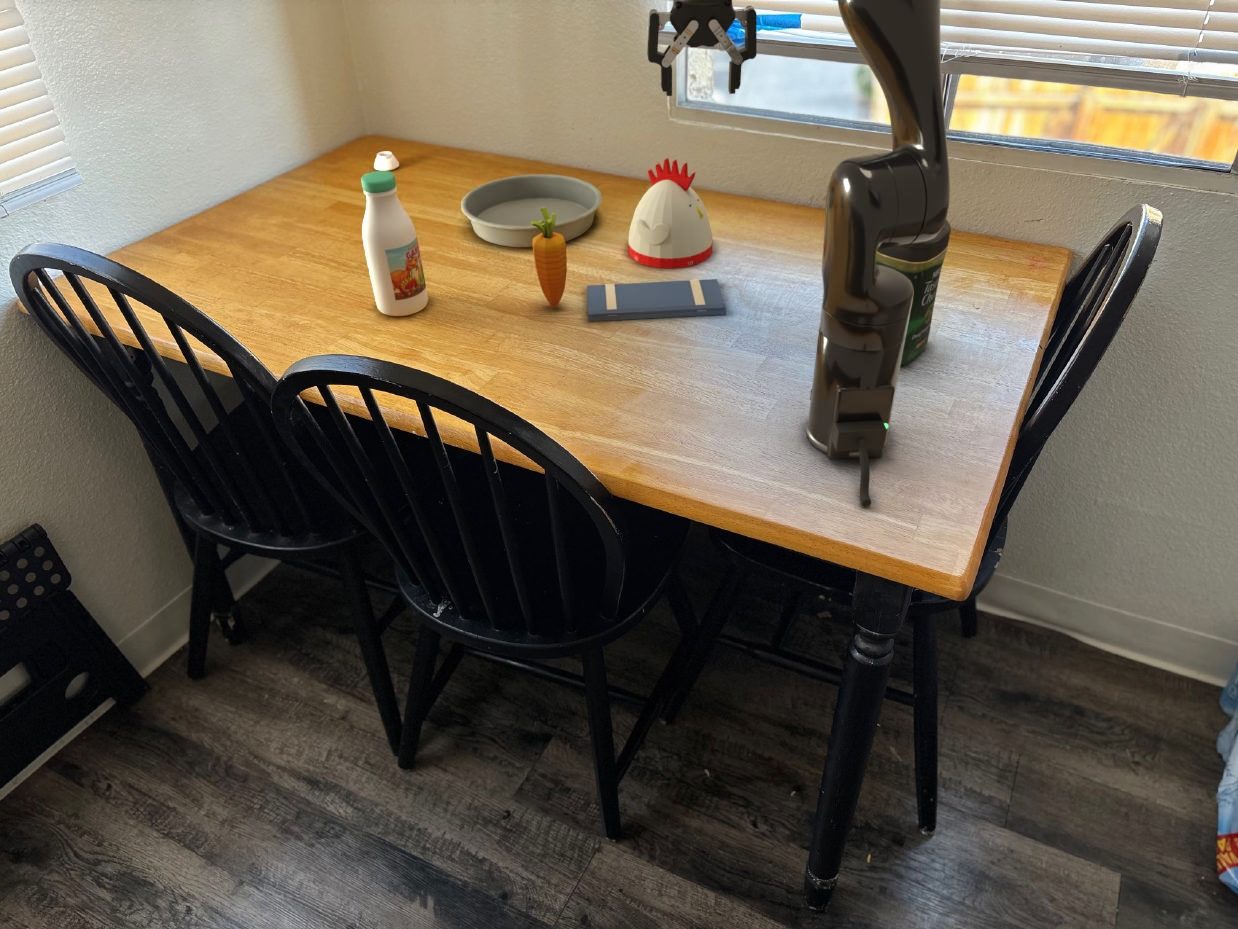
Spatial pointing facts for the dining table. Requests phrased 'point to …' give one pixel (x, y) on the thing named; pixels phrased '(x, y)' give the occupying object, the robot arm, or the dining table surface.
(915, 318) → the coffee jar
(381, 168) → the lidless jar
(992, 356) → the dining table surface
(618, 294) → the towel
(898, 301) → the robot arm
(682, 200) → the kitchen timer
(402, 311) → the milk bottle
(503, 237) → the cake pan
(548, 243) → the carrot
